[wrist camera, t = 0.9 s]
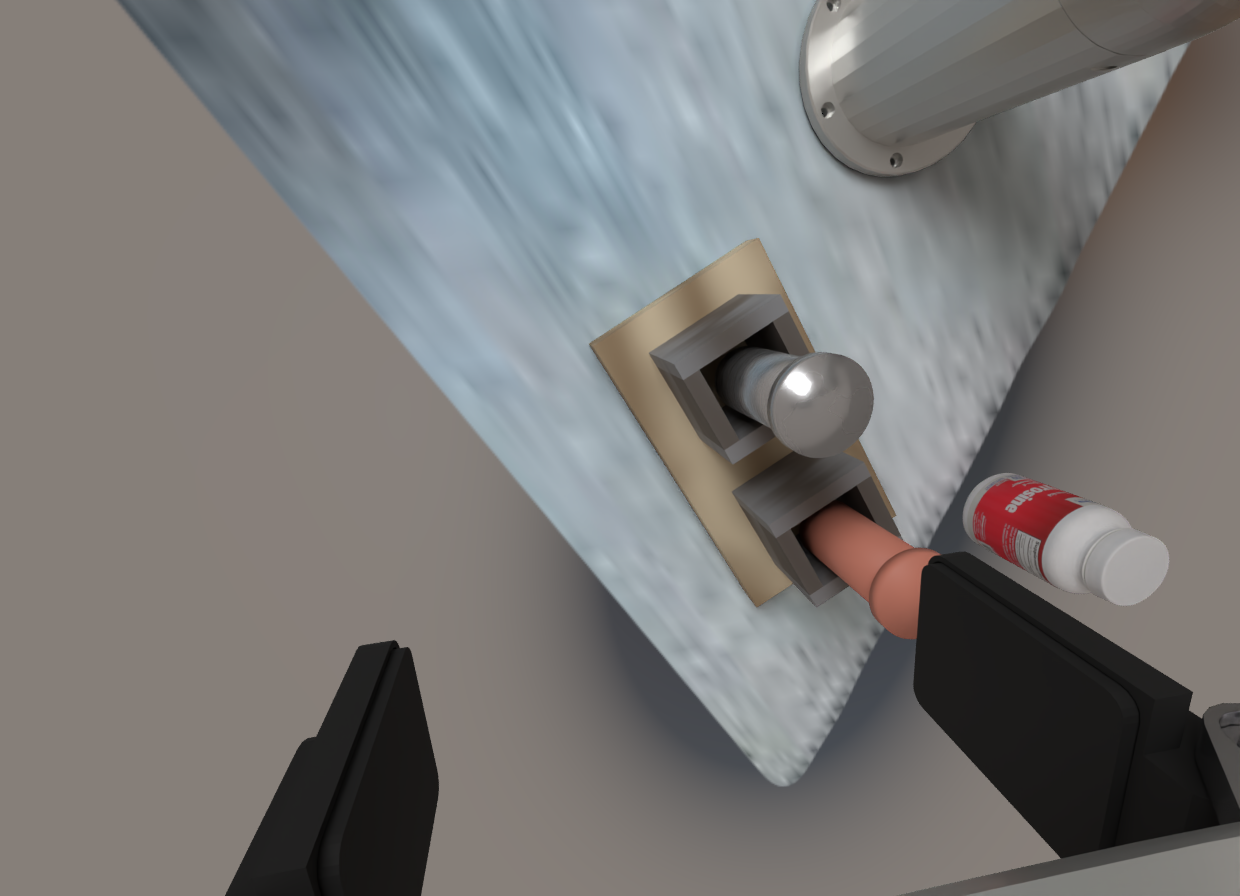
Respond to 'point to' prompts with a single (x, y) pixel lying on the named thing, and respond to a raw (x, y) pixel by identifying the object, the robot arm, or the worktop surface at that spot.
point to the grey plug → (799, 396)
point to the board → (735, 424)
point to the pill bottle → (1065, 539)
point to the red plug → (870, 563)
